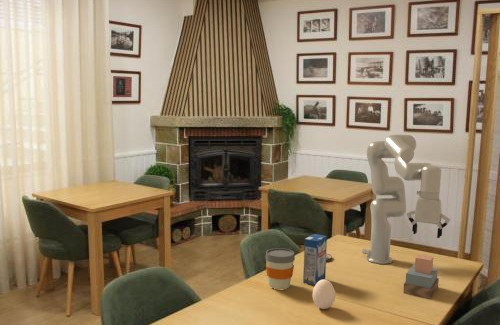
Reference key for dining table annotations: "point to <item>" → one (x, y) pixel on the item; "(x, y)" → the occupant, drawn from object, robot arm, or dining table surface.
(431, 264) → the terracotta block
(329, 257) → the burger
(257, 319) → the dining table surface
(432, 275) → the slate top block
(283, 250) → the reusable coffee cup
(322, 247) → the milk carton
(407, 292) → the walnut base block
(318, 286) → the egg
